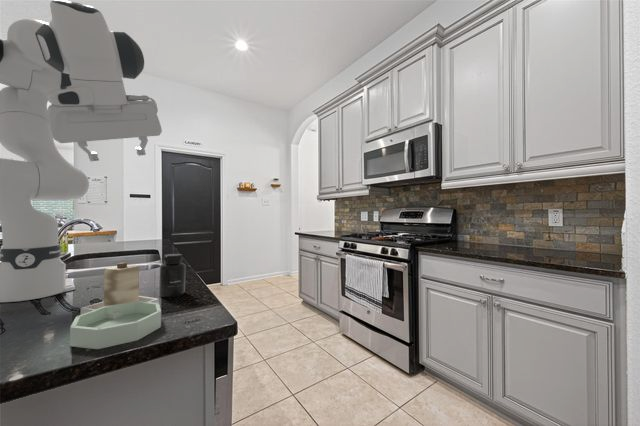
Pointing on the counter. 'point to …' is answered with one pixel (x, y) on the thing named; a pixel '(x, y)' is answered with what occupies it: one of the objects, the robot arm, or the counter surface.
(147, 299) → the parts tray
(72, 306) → the counter surface
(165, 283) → the supplement bottle
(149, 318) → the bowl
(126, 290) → the birch canister
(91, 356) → the counter surface
